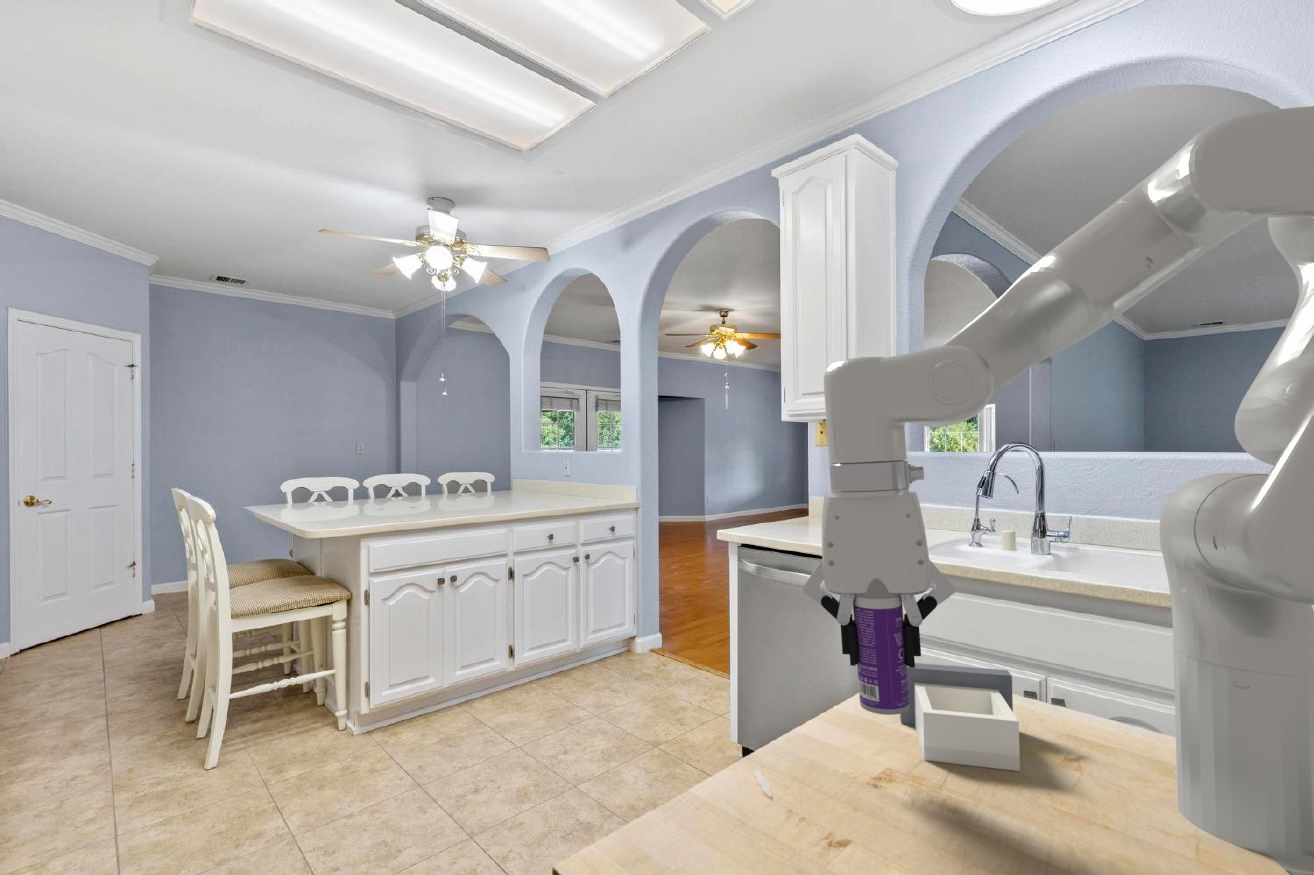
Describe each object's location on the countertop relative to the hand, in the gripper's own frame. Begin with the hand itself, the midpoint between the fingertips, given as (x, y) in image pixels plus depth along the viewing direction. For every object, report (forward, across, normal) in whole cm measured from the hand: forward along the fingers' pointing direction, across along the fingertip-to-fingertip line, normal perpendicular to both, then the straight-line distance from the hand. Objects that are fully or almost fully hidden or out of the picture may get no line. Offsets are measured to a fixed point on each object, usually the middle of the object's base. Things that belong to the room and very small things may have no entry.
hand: (881, 660), depth 64 cm
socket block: (+12, -8, -10) cm, 17 cm away
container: (+5, 0, 0) cm, 5 cm away
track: (+13, -8, -6) cm, 17 cm away
